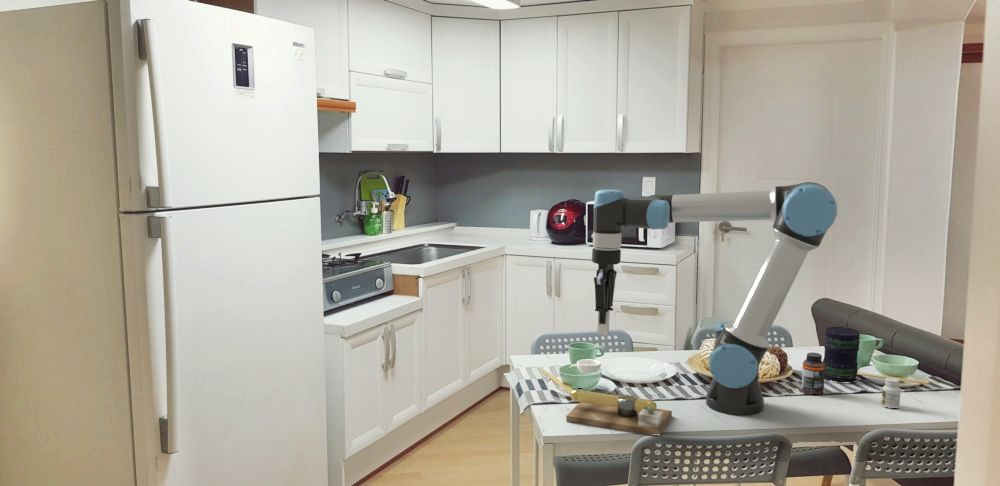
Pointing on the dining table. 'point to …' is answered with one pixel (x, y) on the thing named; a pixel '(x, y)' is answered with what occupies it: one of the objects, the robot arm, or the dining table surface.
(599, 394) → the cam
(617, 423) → the stand
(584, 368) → the cup
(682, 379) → the dining table surface
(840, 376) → the storage jar
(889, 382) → the pill bottle
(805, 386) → the supplement bottle
